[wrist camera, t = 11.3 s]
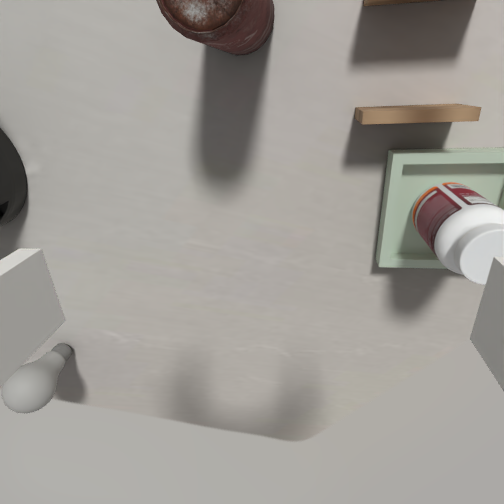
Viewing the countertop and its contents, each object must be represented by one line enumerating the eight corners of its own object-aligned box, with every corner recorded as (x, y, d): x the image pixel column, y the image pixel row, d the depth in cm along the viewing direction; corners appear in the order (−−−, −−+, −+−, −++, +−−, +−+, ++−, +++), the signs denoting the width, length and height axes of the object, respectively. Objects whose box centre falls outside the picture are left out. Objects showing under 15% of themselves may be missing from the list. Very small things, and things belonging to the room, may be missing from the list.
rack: (354, 118, 34) (362, 124, 29) (364, -9, 30) (375, -24, 25) (454, 115, 33) (478, 120, 28) (480, -18, 28) (513, -36, 24)
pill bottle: (419, 246, 38) (459, 304, 28) (401, 195, 36) (437, 239, 26) (482, 224, 36) (548, 278, 26) (467, 169, 34) (532, 206, 24)
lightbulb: (66, 366, 55) (14, 428, 45) (39, 337, 53) (-21, 396, 43) (94, 354, 53) (46, 417, 43) (67, 324, 51) (11, 383, 41)
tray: (375, 258, 40) (378, 267, 38) (388, 149, 35) (393, 153, 33) (490, 260, 38) (499, 270, 36) (522, 147, 33) (535, 151, 31)
